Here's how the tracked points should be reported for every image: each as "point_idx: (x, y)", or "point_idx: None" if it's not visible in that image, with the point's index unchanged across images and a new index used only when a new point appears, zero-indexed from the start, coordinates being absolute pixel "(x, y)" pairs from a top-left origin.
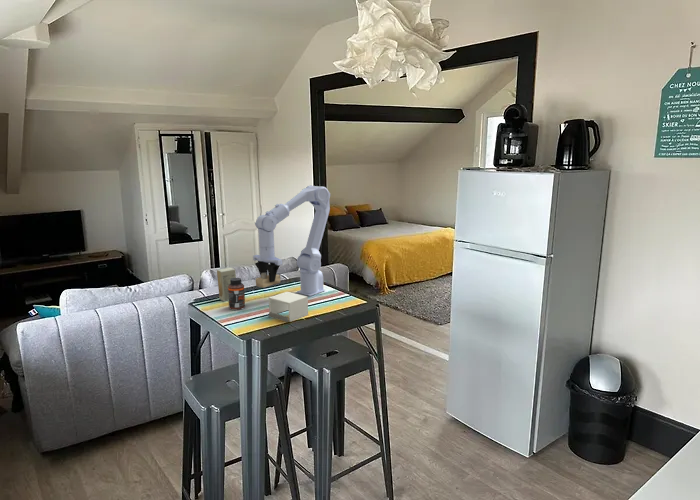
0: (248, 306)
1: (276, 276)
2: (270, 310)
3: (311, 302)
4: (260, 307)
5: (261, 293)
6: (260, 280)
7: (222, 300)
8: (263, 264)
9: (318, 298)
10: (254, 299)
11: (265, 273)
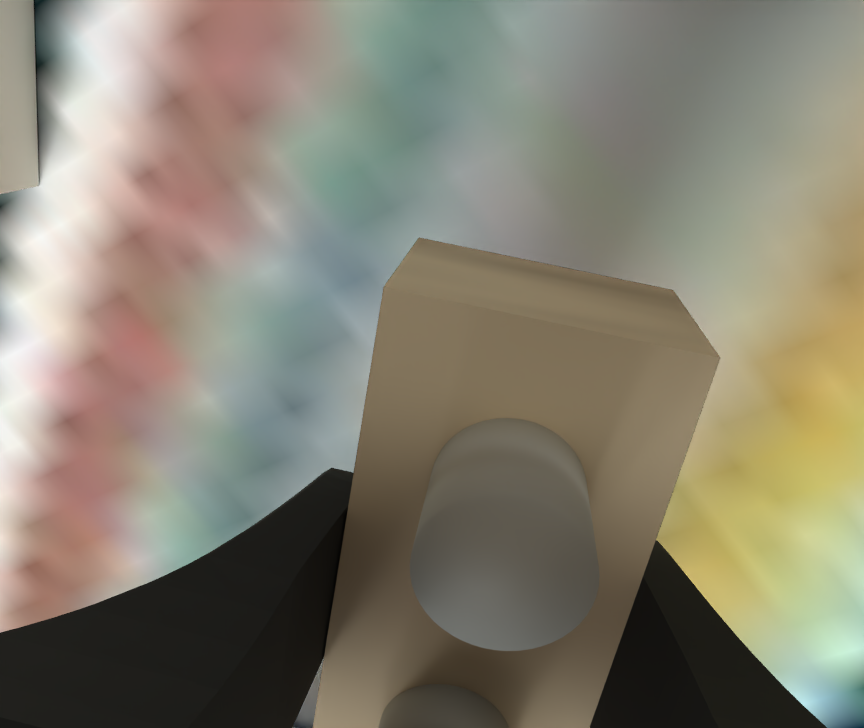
0: (655, 3)
1: (315, 715)
2: None
3: (8, 530)
4: (435, 61)
5: (827, 612)
6: (490, 300)
7: None
8: None
9: None
10: (771, 352)
11: (432, 588)
